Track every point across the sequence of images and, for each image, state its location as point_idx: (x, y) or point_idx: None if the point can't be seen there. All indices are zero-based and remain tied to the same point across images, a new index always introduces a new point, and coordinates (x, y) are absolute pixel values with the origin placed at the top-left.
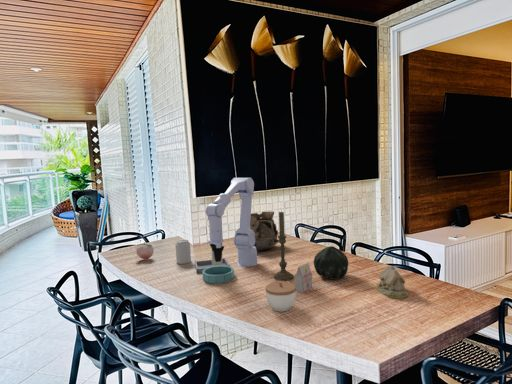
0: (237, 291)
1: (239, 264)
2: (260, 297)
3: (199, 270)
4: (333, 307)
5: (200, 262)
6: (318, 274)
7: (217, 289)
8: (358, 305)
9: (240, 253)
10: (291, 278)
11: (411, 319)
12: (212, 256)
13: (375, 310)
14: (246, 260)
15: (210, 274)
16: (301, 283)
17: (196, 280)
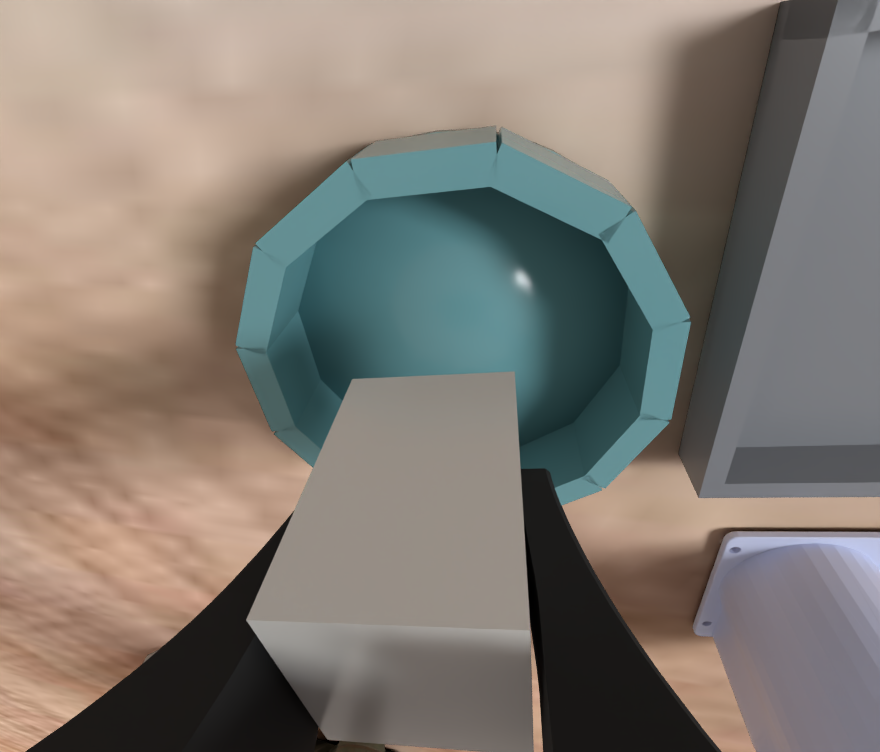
0: (105, 439)
1: (787, 550)
2: (37, 527)
3: (801, 62)
4: (20, 673)
5: None
6: (336, 747)
7: (118, 300)
8: (62, 711)
9: (833, 689)
10: None
11: (4, 737)
12: (295, 518)
13: (37, 720)
14: (740, 631)
15: (595, 250)
16: None
17: (448, 11)
